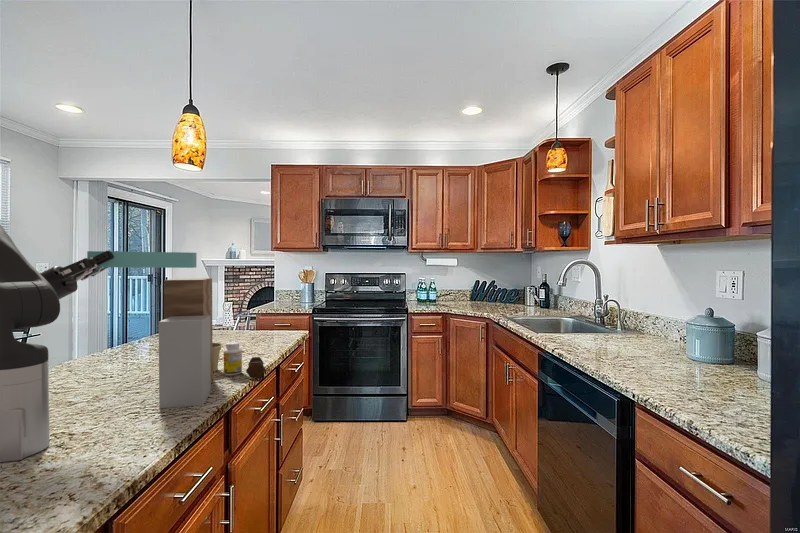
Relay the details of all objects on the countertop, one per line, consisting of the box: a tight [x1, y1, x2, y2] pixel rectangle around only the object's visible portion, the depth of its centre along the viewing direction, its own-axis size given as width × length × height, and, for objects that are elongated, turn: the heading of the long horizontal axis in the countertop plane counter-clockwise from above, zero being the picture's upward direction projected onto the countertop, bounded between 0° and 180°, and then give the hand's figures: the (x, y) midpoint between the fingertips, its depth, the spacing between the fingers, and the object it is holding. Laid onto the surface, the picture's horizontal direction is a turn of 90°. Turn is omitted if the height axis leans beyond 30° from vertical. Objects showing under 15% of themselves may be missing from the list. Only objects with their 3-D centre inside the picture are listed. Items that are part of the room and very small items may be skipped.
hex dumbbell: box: [245, 356, 266, 379], centre depth 136 cm, size 6×5×15 cm
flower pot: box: [212, 342, 223, 373], centre depth 137 cm, size 9×9×9 cm
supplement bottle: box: [223, 341, 243, 377], centre depth 133 cm, size 6×6×10 cm
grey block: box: [158, 315, 212, 409], centre depth 108 cm, size 10×10×22 cm
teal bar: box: [86, 250, 198, 269], centre depth 105 cm, size 4×24×4 cm, turn 104°
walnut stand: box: [163, 277, 214, 383], centre depth 119 cm, size 12×10×32 cm
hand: (115, 253), depth 104 cm, fingers closed on teal bar, 4 cm apart
